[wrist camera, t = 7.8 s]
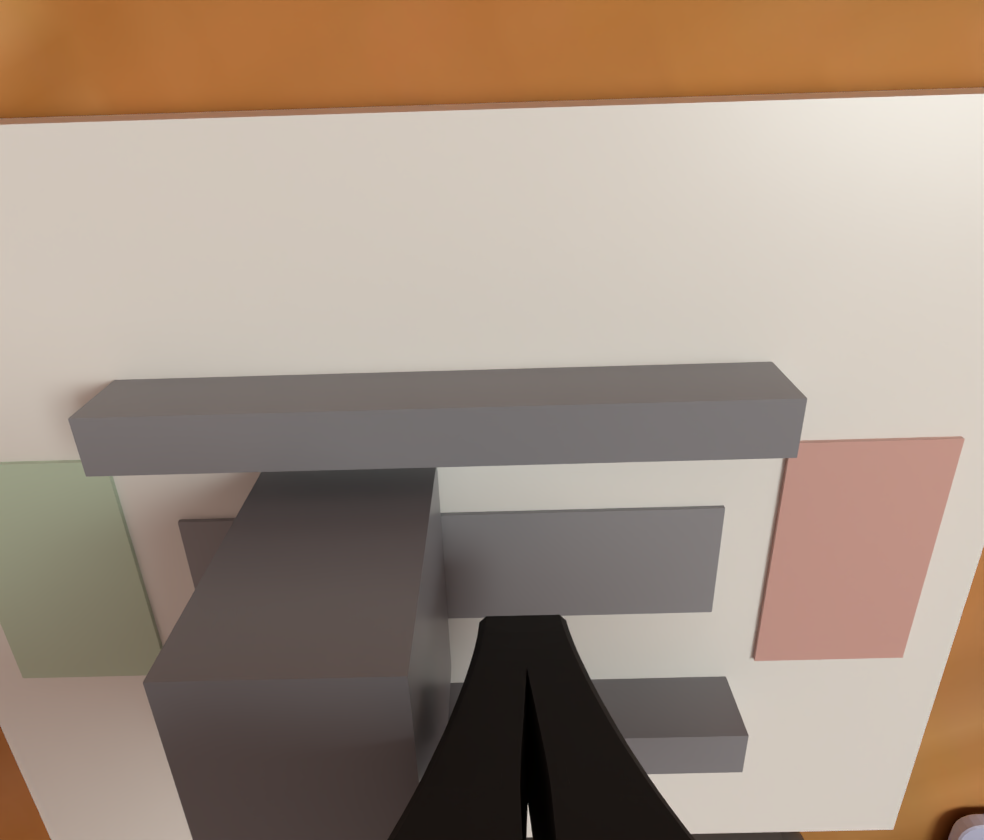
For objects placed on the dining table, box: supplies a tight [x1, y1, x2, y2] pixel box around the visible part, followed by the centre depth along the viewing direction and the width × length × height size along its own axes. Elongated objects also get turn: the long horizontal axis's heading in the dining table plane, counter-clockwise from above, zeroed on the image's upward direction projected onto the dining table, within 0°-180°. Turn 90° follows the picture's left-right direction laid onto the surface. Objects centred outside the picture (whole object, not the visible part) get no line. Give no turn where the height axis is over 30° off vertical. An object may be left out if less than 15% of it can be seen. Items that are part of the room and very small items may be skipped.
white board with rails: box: [0, 87, 984, 840], centre depth 15 cm, size 20×21×4 cm
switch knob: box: [143, 467, 451, 840], centre depth 12 cm, size 3×5×5 cm, turn 2°
